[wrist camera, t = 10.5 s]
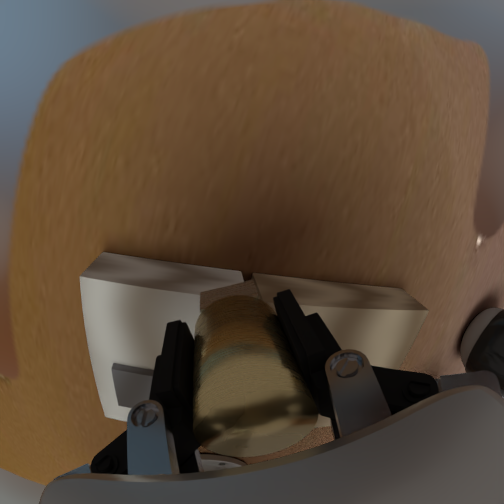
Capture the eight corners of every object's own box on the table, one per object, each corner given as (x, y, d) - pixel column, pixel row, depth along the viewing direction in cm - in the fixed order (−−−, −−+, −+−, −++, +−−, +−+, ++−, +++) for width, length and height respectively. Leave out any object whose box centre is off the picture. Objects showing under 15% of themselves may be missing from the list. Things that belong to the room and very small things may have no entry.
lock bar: (288, 405, 18) (320, 496, 10) (241, 416, 18) (260, 511, 10) (258, 256, 14) (316, 375, 6) (187, 274, 13) (172, 407, 6)
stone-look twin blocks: (401, 288, 21) (433, 314, 17) (350, 393, 25) (367, 423, 21) (102, 252, 16) (75, 280, 12) (114, 384, 20) (104, 422, 16)
